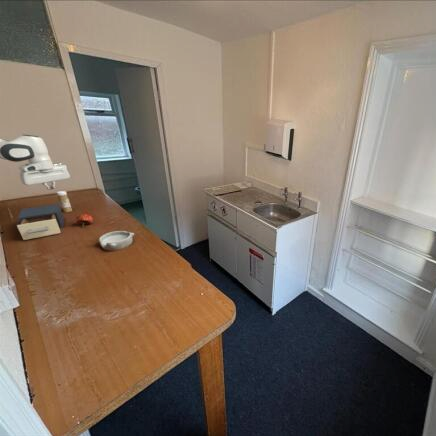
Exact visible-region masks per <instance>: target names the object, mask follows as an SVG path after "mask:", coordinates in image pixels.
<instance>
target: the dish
mask: <svg viewBox="0 0 436 436" xmlns="http://www.w3.org/2000/svg"><path fill="white" fill-rule="evenodd" d="M133 237H135V233H134V232H130V231H126V230H116V231H115V230H114V231H110V232H106V233H104V234H102V235H101V236H100V237H99V238H98V242H99V244H100V246H101V249H103V250H105V251H108V252H110V251H111V252H113V251H120V250H123V249H125V248H128V247H129V246H130V245H132V243H133V241H134V240H133Z"/></svg>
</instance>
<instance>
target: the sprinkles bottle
mask: <svg viewBox="0 0 436 436" xmlns="http://www.w3.org/2000/svg"><path fill="white" fill-rule="evenodd" d="M56 196H57V198H58V200H59V202H60V203H59V204H60V207H61V210H62V211H63V212H62V213H70V212H73V209H72V205H71V202H70V199H69V197H68V193H67V191H66V190H61V191H60V190H59V191H56Z"/></svg>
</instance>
